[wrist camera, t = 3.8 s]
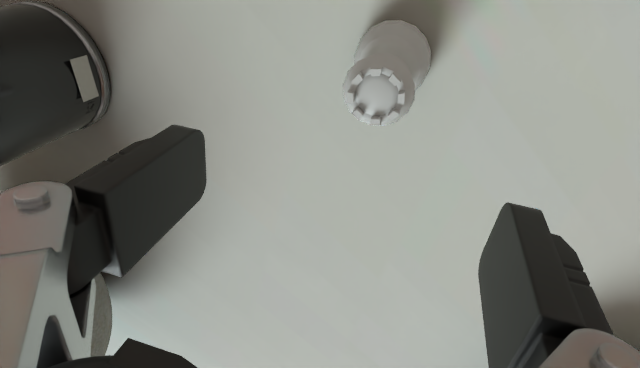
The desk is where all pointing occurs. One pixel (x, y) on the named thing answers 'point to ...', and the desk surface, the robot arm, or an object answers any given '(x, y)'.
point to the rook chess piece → (386, 72)
